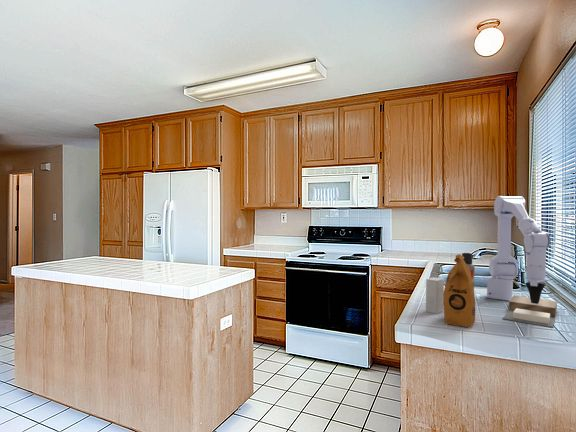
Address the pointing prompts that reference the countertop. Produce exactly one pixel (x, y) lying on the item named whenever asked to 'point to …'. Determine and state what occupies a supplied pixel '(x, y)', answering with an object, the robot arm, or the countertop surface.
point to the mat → (510, 317)
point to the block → (531, 315)
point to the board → (533, 305)
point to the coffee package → (459, 295)
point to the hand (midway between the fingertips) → (534, 303)
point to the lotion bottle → (469, 264)
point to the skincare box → (434, 295)
